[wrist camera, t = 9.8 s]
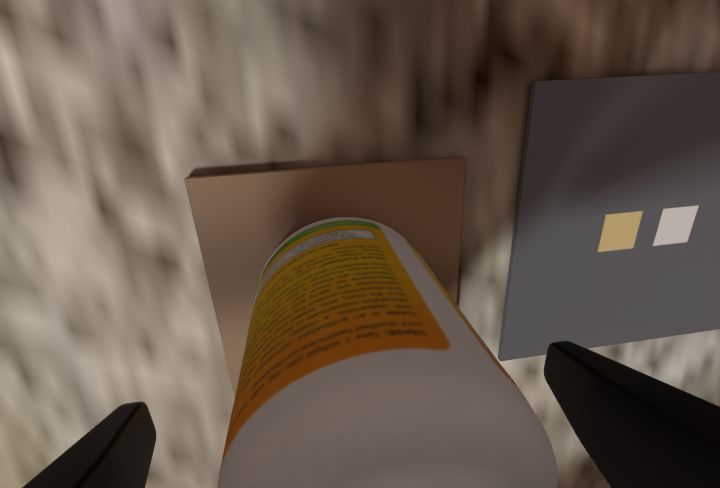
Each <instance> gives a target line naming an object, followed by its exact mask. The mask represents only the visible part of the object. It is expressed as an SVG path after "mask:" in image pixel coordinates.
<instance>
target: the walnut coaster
mask: <svg viewBox="0 0 720 488" xmlns="http://www.w3.org/2000/svg"><path fill="white" fill-rule="evenodd" d="M465 166H466V158H465V157H463V156H457V157H443V158H430V159H417V160H403V161H390V162H376V163H363V164H350V165H336V166H323V167H309V168H296V169H283V170H269V171H256V172H243V173H229V174H216V175H202V176H189V177H186V178H185V179H184V180H185V184H186V188H187V193H188V197H189V201H190V206H191V210H192V214H193V219H194V223H195V227H196V231H197V236H198V240H199V244H200V249H201V253H202V257H203V262H204V266H205V270H206V274H207V279H208V283H209V287H210V292H211V296H212V300H213V305H214V309H215V313H216V317H217V322H218V326H219V330H220V335H221V339H222V343H223V348H224V352H225V356H226V360H227V365H228V369H229V373H230V378H231V382H232V386H233V391H234V395H236V390H237V385H238V380H239V375H240V370H241V365H242V360H243V356H244V350H245V345H246V340H247V335H248V330H249V325H250V320H251V315H252V309H253V303H254V299H255V294H256V289H257V285H258V282H259V279H260V276H261V273H262V271H263V269H264V266H265V264H266V262H267V261H268V259H269V258H270V256H271V255H272V253H273V252H274V251H275V250H276V248H277V247H278V246H279V245H280V244H281V243H282V242H283V241H284V240H286V239H287V238H288V237H289V236H290V235H292V234H293V233H294V232H296V231H298V230H299V229H301V228H303V227H305V226H307V225H310V224H312V223H315V222H318V221H321V220H325V219H330V218H338V217H357V218H364V219H369V220H373V221H376V222H378V223H381V224H383V225H386V226H388V227H390V228H391V229H393V230H394V231H396V232H397V233H399V234H400V235H401V236H402V237H404V238H405V239H406V240H407V241H408V242H409V243H410V244H411V246H412V247H413V248H414V249H415V250H416V251H417V252H418V254H419V255H420V256H421V257H422V259H423V260H424V262H425V263H426V264H427V265H428V267H429V268H430V269H431V271H432V272H433V274H434V275H435V276H436V278H437V279H438V281H439V282H440V283H441V285H442V286H443V287H444V289H445V290H446V291H447V293H448V294H449V295H450V297H451V298H452V300H453V301H454V302H455V304H456V305H457V289H458V274H459V258H460V243H461V227H462V212H463V197H464V181H465Z"/></svg>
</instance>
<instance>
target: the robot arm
mask: <svg viewBox="0 0 720 488" xmlns="http://www.w3.org/2000/svg"><path fill="white" fill-rule="evenodd" d="M544 376H545V379H546V381H547V383H548V385H549V387H550V389H551V390H552V392H553V394H554V396H555V398H556V399H557V401H558V403H559V405H560V406H561V408H562V410H563V412H564V414H565V415H566V417H567V419H568V421H569V423H570V424H571V426H572V428H573V430H574V432H575V433H576V435H577V437H578V438H579V440H580V442H581V443H582V445H583V446H584V448H585V449H586V451H587V452H588V454H589V455H590V457H591V458H592V460H593V461H594V463H595V464H596V466H597V467H598V469H599V470H600V472H601V473H602V474H603V476H604V477H605V479H606V480H607V482H608V483H609V485H610V486H611V488H720V407H719V406H717V405H714V404H712V403H710V402H707V401H705V400H703V399H701V398H698V397H696V396H694V395H691V394H689V393H687V392H685V391H682V390H680V389H678V388H675V387H673V386H671V385H669V384H666V383H664V382H662V381H659V380H657V379H655V378H652V377H650V376H648V375H646V374H643V373H641V372H639V371H636V370H634V369H632V368H630V367H627V366H625V365H623V364H620V363H618V362H616V361H614V360H611V359H609V358H607V357H604V356H602V355H600V354H598V353H595V352H593V351H591V350H589V349H586V348H584V347H582V346H579V345H577V344H575V343H573V342H570V341H559V342H553V343H550V345H549V346H548V349H547V355H546V360H545V366H544ZM155 442H156V430H155V427H154V424H153V421H152V418H151V415H150V413H149V410H148V407H147V405H146V404H145V403H144V402H133V403H126V404H123V405H121V406H119V407H118V408H117V409H115V410H114V411H113V412H112V413H111V414H109V415H108V416H107V417H106V418H105V419H104V420H102V421H101V422H100V423H99V424H98V425H96V426H95V427H94V428H93V429H92V430H90V431H89V432H88V433H87V434H86V435H84V436H83V437H82V438H81V439H80V440H78V441H77V442H76V443H75V444H74V445H73V446H71V447H70V448H69V449H68V450H67V451H65V452H64V453H63V454H62V455H61V456H59V457H58V458H57V459H56V460H55V461H53V462H52V463H51V464H50V465H49V466H47V467H46V468H45V469H44V470H43V471H41V472H40V473H39V474H38V475H37V476H36V477H34V478H33V479H32V480H31V481H30V482H28V483H27V484H26V485H25V486H24V487H22V488H145V485H146V481H147V477H148V472H149V468H150V464H151V459H152V455H153V451H154V447H155Z"/></svg>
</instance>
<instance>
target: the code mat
mask: <svg viewBox="0 0 720 488" xmlns="http://www.w3.org/2000/svg"><path fill="white" fill-rule="evenodd" d="M716 329H720V72H707V73H687V74H667V75H647V76H627V77H607V78H587V79H568V80H548V81H532V86H531V94H530V102H529V110H528V118H527V126H526V134H525V142H524V150H523V159H522V167H521V175H520V183H519V191H518V199H517V207H516V215H515V223H514V231H513V240H512V248H511V256H510V264H509V272H508V280H507V288H506V296H505V304H504V312H503V320H502V329H501V337H500V345H499V353H498V359H499V360H500V361H505V360H512V359H519V358H525V357H532V356H539V355H546V354H547V349H548V346H549V345H550V343H553V342H559V341H570V342H573V343H575V344H577V345H579V346H582V347H584V348H586V349H587V348H593V347H600V346H607V345H614V344H621V343H627V342H634V341H641V340H648V339H655V338H661V337H668V336H675V335H682V334H689V333H695V332H702V331H709V330H716Z"/></svg>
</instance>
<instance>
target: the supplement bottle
mask: <svg viewBox="0 0 720 488" xmlns="http://www.w3.org/2000/svg"><path fill="white" fill-rule="evenodd" d="M218 488H558V479H557V467H556V460H555V457H554V453H553V449H552V446H551V443H550V441H549V438H548V436H547V434H546V432H545V430H544V427H543V426H542V424H541V422H540V420H539V418H538V417H537V415H536V414H535V412H534V411H533V409H532V408H531V406H530V405H529V403H528V402H527V400H526V398H525V397H524V395H523V394H522V392H521V391H520V389H519V388H518V387H517V385H516V384H515V382H514V381H513V380H512V378H511V377H510V376H509V375H508V373H507V372H506V371H505V369H504V368H503V367H502V366H501V364H500V363H499V362H498V360H497V359H496V358H495V356H494V355H493V354H492V352H491V351H490V350H489V348H488V347H487V346H486V344H485V343H484V341H483V340H482V339H481V337H480V336H479V335H478V333H477V332H476V331H475V329H474V328H473V327H472V325H471V324H470V323H469V321H468V320H467V318H466V317H465V316H464V314H463V313H462V312H461V310H460V309H459V308H458V306H457V305H456V304H455V302H454V301H453V300H452V298H451V297H450V295H449V294H448V293H447V291H446V290H445V289H444V287H443V286H442V285H441V283H440V282H439V281H438V279H437V278H436V276H435V275H434V274H433V272H432V271H431V269H430V268H429V267H428V265H427V264H426V263H425V262H424V260H423V259H422V257H421V256H420V255H419V254H418V252H417V251H416V250H415V249H414V248H413V247H412V246H411V244H410V243H409V242H408V241H407V240H406V239H405V238H404V237H402V236H401V235H400V234H399V233H397V232H396V231H394V230H393V229H391V228H390V227H388V226H386V225H383V224H381V223H378V222H376V221H373V220H369V219H364V218H357V217H338V218H330V219H325V220H321V221H318V222H315V223H312V224H310V225H307V226H305V227H303V228H301V229H299V230H298V231H296V232H294V233H293V234H292V235H290V236H289V237H288V238H287V239H286V240H284V241H283V242H282V243H281V244H280V245H279V246H278V247H277V248H276V250H275V251H274V252H273V253H272V255H271V256H270V258H269V259H268V261H267V262H266V264H265V266H264V269H263V271H262V273H261V276H260V279H259V282H258V285H257V289H256V294H255V299H254V303H253V309H252V315H251V320H250V325H249V330H248V335H247V340H246V345H245V350H244V356H243V360H242V365H241V370H240V375H239V380H238V385H237V390H236V395H235V400H234V405H233V410H232V415H231V420H230V424H229V429H228V434H227V439H226V444H225V449H224V454H223V459H222V464H221V469H220V474H219V480H218Z"/></svg>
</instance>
